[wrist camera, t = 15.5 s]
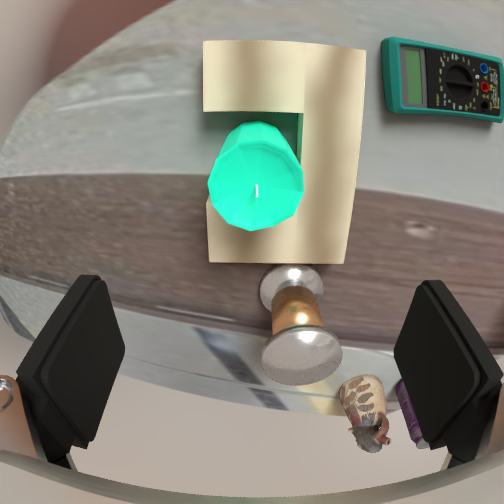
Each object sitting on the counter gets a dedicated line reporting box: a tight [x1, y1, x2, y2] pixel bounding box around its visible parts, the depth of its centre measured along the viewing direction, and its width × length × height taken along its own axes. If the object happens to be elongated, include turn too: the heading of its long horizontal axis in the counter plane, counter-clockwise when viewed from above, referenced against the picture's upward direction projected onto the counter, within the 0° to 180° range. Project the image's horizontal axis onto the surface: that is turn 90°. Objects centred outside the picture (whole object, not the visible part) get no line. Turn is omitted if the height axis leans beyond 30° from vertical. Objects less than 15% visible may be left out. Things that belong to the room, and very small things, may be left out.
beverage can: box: [396, 381, 430, 449], centre depth 41 cm, size 7×7×12 cm
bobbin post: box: [260, 263, 342, 386], centre depth 31 cm, size 7×7×11 cm
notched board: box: [203, 40, 366, 264], centre depth 27 cm, size 13×20×3 cm, turn 179°
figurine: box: [339, 375, 391, 453], centre depth 41 cm, size 7×7×12 cm
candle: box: [208, 120, 304, 231], centre depth 23 cm, size 6×6×12 cm
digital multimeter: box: [382, 37, 504, 123], centre depth 23 cm, size 7×15×3 cm, turn 96°
